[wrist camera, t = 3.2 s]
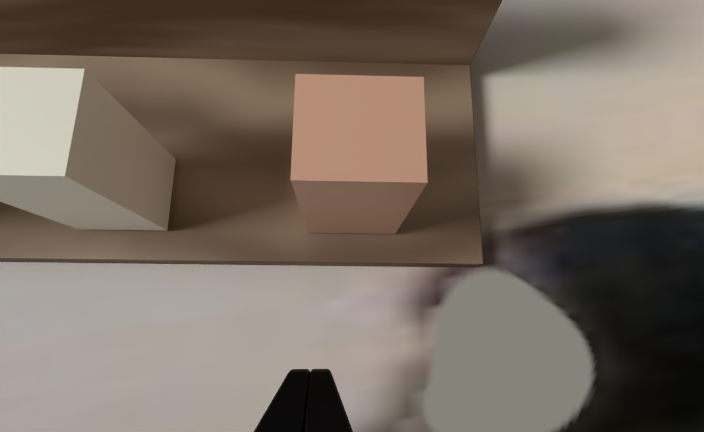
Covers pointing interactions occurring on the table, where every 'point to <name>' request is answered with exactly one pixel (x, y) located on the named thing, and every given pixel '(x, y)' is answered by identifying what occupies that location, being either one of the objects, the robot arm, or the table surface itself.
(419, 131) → the pink rectangular block
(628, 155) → the table surface
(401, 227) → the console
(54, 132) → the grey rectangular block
